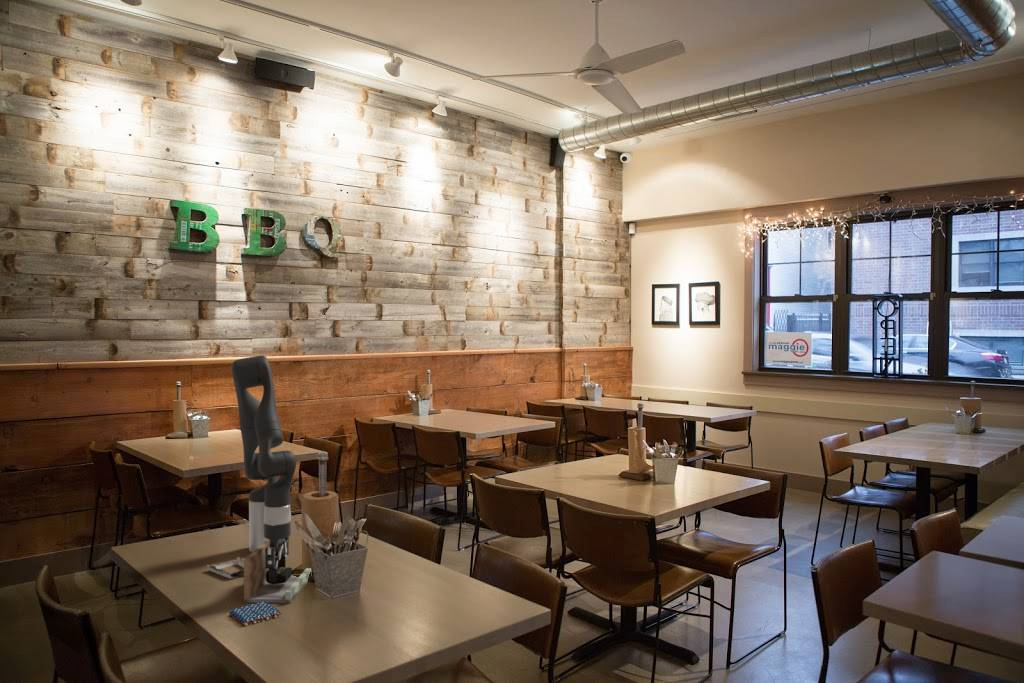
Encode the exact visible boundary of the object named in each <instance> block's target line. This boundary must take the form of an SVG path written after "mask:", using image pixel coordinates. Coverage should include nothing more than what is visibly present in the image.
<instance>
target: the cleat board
mask: <svg viewBox="0 0 1024 683" xmlns="http://www.w3.org/2000/svg"><path fill="white" fill-rule="evenodd" d="M269 544H270V540H269V539H268V540H266V541H265V542H264V543H263V544H262V545H260V546H259V547H258V548H257V549H256V550H254V551H253V552H250V553H249V555H247V556H246V557H245V558H244V559H243V561H244V568H243V570H244V576H243V603H244V604H245V603H246V604H247V603H250V604H251V603H253V604H257V603H260V602H264V601H266V603H269V604H291V603H292V602H293V601H294V600H295V599H296V597H297V596H298V595H299V594H300V593H301V591H302V590H303V589H304V588H305V587H306V586H307V584H308V583H309V582H308V578H309V574H310V572H311V573H312V568H311V567H307V568H305V569H304V570H303V571H302V573H300V574H299V575H300V576H299V577H296V576H293V575H294V574H292V576H291V577H290V578H289V579H288V580H287V581H286V582H285V583H281V584H270V583H268V582H266V572H267V570H268V569H266V568H265V548H268V546H269ZM271 564H272V561H271Z"/></svg>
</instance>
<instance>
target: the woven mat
mask: <svg viewBox="0 0 1024 683" xmlns="http://www.w3.org/2000/svg"><path fill="white" fill-rule="evenodd" d="M228 613H229V616H230V617H232V618H234V620H236V621H237V622H238V623H240V624H241V625H242V626H243V627H248V626H251V625H252V624H257V623H258V624H259V623H261V622H263V623H264V622H266V621H269V620H273V619H277V618H278V617H282V616H281V615H282V612H281V611H280V610H279V609H278V608H276V607H274V605H273V606H272V604H271V603H266V601H264V602H260V603H253V604H249V605H248V606H247V605H246V606H245V605H244V606H242V607H238V608H233V609H232V610H230V611H229V612H228Z"/></svg>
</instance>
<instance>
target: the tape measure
mask: <svg viewBox="0 0 1024 683" xmlns="http://www.w3.org/2000/svg"><path fill="white" fill-rule="evenodd" d="M292 575H294V570H293V569H292V567H286V568H285V567H278V566H277V581H276V582H270V581H269V569H268V570H267V572H266V582H268V583H270V584H281V583H285V582H286V581H287V580H288V579H289V578H290V577H291V576H292Z"/></svg>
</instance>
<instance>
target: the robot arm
mask: <svg viewBox="0 0 1024 683" xmlns="http://www.w3.org/2000/svg"><path fill="white" fill-rule="evenodd" d="M272 373H273V372H272V369H271V363H270V361H269V359H268V358H267V356H265V355H257V356H256V355H255V356H250V357H244V358H238V359H236V360H234V361H232V365H231V374H232V379H233V380H232V381H233V383H234V384H233V385H234V388H235V389H234V390H235V393H236V399H237V400H236V401H237V407H238V420H239V428H240V434H241V439H242V440H241V441H242V447H243V467H244V468H243V469H244V475H245V477H246V479H247V480H250V481H263V480H264V481H265V480H266V481H267V482H266V483H265V484H264V485H263V486H260V487H258V488H254V489H253V490H250V491H249V494H248V551H249V552H250V553H252V552H253V551H254V550H256V549H257V548H258V547H259V546H260V545H262V544H263V543H264V542H265V541H266V540H268V539H269V540H270V544H269V546H268V548H265V568H266V569H269V581H270V582H276V581H277V567H285V568H287V558H288V555H289V554H290V551H289V550H290V549H289V548H290V536H291V534H292V510H291V487H292V483H293V479H294V476H295V474H296V470H297V457H296V454H294V452H293V451H291V450H280V451H279V450H278V451H271V449H275V448H277V447H279V446H281V445H282V444H283V443H284V435H283V430H282V426H281V424H280V419H279V415H278V409H277V401H276V392H275V387H274V386H275V385H274V381H273V380H274V379H273V374H272ZM260 386H262V387H263V393H262V397H261V401H260V400H258V399H257V398H256V397H255V396H253V394H251V392H250V391H249V390H248V389H250V388H255V387H260ZM257 449H258V452H256V451H257ZM278 477H279V478H278ZM271 561H272V564H271Z"/></svg>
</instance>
